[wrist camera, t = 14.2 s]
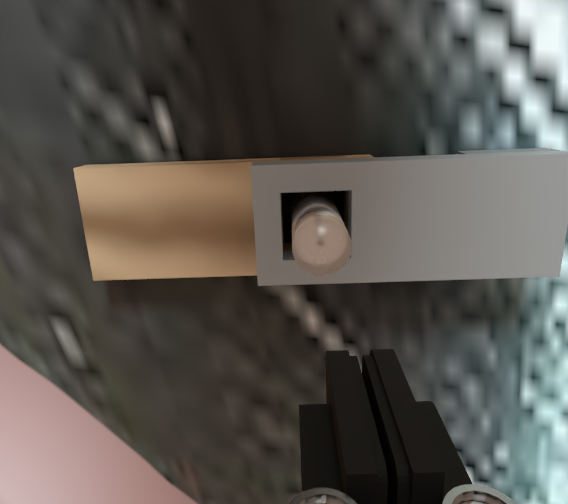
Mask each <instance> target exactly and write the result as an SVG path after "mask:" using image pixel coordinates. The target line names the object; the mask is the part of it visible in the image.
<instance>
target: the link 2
mask: <svg viewBox="0 0 568 504" xmlns="http://www.w3.org/2000/svg"><path fill="white" fill-rule="evenodd" d="M251 179H252V196H253V213H254V229H255V246H256V263H257V279H258V286H273V285H305V284H337V283H369V282H401V281H434V280H466V279H498V278H530V277H559V275H560V269H561V263H562V256H563V250H564V244H565V238H566V231H567V225H568V152H566V151H560V150H554V149H547V148H527V149H500V150H473V151H456V154H454V155H427V156H400V157H373V158H346V159H319V160H292V161H265V162H253V163H252V164H251ZM346 190H348V234H349V236H350V239H351V243H352V251H351V255H350V258H349V260H348V261H347V263H346V264H345V265H344V266H343V267H342V268H341V269H340V270H339V271H337V272H335V273H333V274H330V275H325V276H318V275H313V274H310V273H308V272H306V271H304V270H303V269H302V268H301V267H300V266H299V265H298V264H297V263H296V261H295V259H294V257H293V253H292V251H283V232H282V207H281V193H289V192H317V191H346Z"/></svg>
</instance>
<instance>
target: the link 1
mask: <svg viewBox="0 0 568 504" xmlns="http://www.w3.org/2000/svg"><path fill="white" fill-rule="evenodd" d="M346 158H373V156H372V155H370V154H366V155H339V156H312V157H285V158H258V159H232V160H205V161H178V162H151V163H124V164H97V165H84V166H81V167H77V168H74V169H73V170H74V176H75V181H76V187H77V192H78V198H79V203H80V209H81V214H82V220H83V226H84V231H85V237H86V242H87V248H88V253H89V259H90V264H91V270H92V276H93V281H96V280H128V279H160V278H191V277H223V276H255V275H257V263H256V246H255V229H254V213H253V196H252V179H251V164H252V163H253V162H265V161H292V160H319V159H346ZM281 207H282V193H281ZM344 225H345V227H346V229H347V231H348V190H346V191H344ZM282 232H283V215H282ZM283 251H292V243H284V240H283Z"/></svg>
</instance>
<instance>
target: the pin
mask: <svg viewBox="0 0 568 504" xmlns="http://www.w3.org/2000/svg"><path fill="white" fill-rule="evenodd" d="M351 251H352V243H351V239H350V236H349V234H348V231H347V229H346V227H345V225H344V223H343V220H342V218H341V216H340V214H339V212H338V209H337V207H336V205H335V203H334V201H333V199H332V198H331V196H330V195H329V194H328V193H326V192H325V191H317V192H302V193H300V194H299V195H298V196H297V197H296V198H295V200H294V202H293V205H292V253H293V257H294V259H295V261H296V263H297V264H298V265H299V266H300V267H301V268H302V269H303V270H304V271H306V272H308V273H310V274H313V275H318V276H325V275H330V274H333V273H335V272H337V271H339V270H340V269H341V268H342V267H343V266H344V265H345V264H346V263H347V261H348V260H349V258H350V255H351Z"/></svg>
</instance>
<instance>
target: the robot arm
mask: <svg viewBox="0 0 568 504" xmlns="http://www.w3.org/2000/svg"><path fill="white" fill-rule="evenodd" d="M326 399H327V404H305V405H299V416H300V447H301V476H302V493H300V494H299V495H297V496H296V497H294V498H293V500H292V501H291V502H290V503H289V504H516V503H515V502H514V501H513V500H512V499H510V498H509V497H507V496H506V495H504V494H503V493H501V492H499V491H497V490H494V489H492V488H490V487H486V486H481V485H477V484H472V482H471V480H470V478H469V476H468V474H467V472H466V469H465V467H464V465H463V463H462V461H461V459H460V457H459V455H458V453H457V451H456V449H455V447H454V444H453V442H452V440H451V438H450V436H449V434H448V432H447V430H446V428H445V426H444V424H443V422H442V419H441V417H440V415H439V413H438V411H437V409H436V407H435V405H434V404H433V403H432V402H431V401H420V402H416V401H415V399H414V397H413V394H412V392H411V389H410V387H409V385H408V382H407V380H406V378H405V375H404V373H403V371H402V368H401V366H400V363H399V361H398V359H397V356H396V354H395V352H394V350H393V349H378V350H371V351H370V355H369V356H363V358H362V373H361V369H360V366H359V362H358V358H357V356H349V352H348V350H342V351H326Z"/></svg>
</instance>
